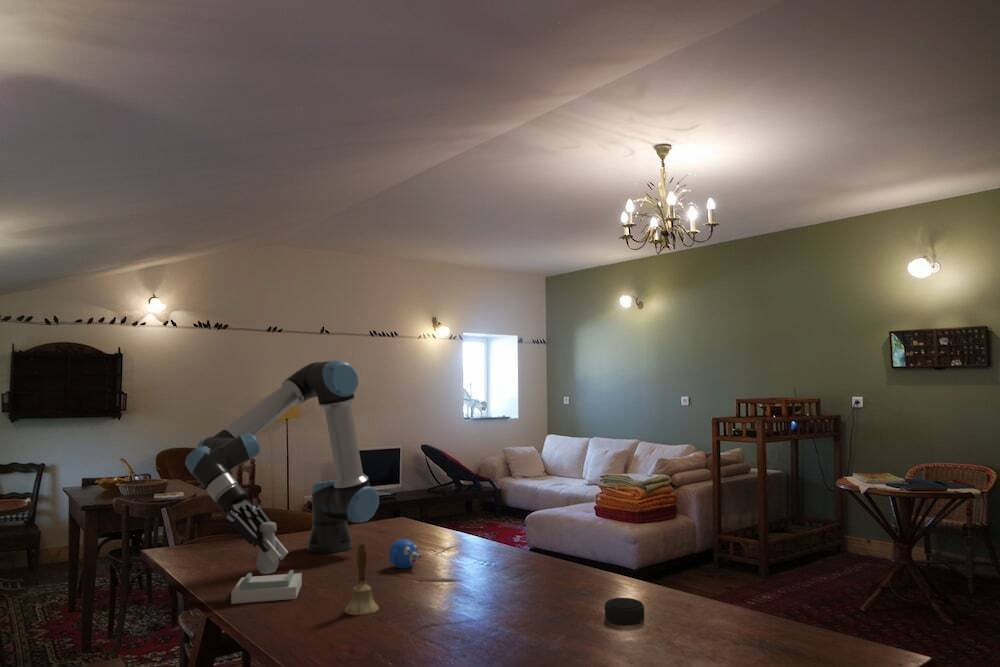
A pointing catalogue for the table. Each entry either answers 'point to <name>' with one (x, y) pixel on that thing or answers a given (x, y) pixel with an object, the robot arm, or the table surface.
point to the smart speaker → (624, 611)
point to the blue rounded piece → (404, 553)
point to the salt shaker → (262, 559)
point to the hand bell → (361, 589)
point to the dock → (267, 588)
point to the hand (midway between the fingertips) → (280, 557)
